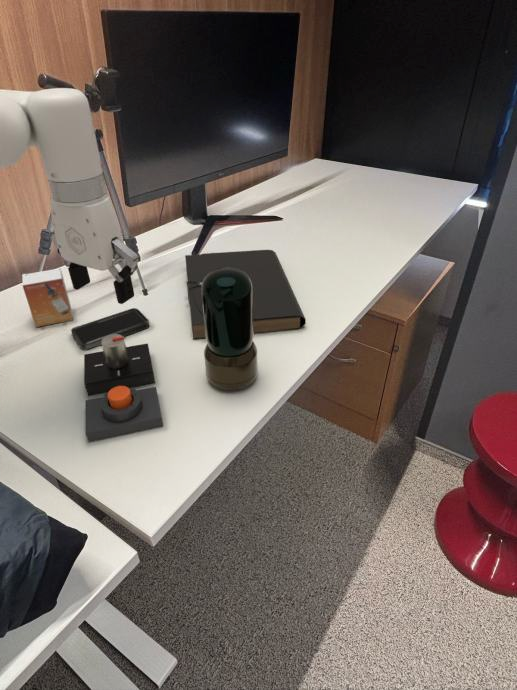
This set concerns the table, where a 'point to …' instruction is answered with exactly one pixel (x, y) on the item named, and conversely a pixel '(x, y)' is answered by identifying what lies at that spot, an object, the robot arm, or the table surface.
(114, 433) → the button block
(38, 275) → the small box
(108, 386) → the dial panel
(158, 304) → the table surface
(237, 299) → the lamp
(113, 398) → the button
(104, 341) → the dial
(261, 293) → the dark brown book
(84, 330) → the phone
